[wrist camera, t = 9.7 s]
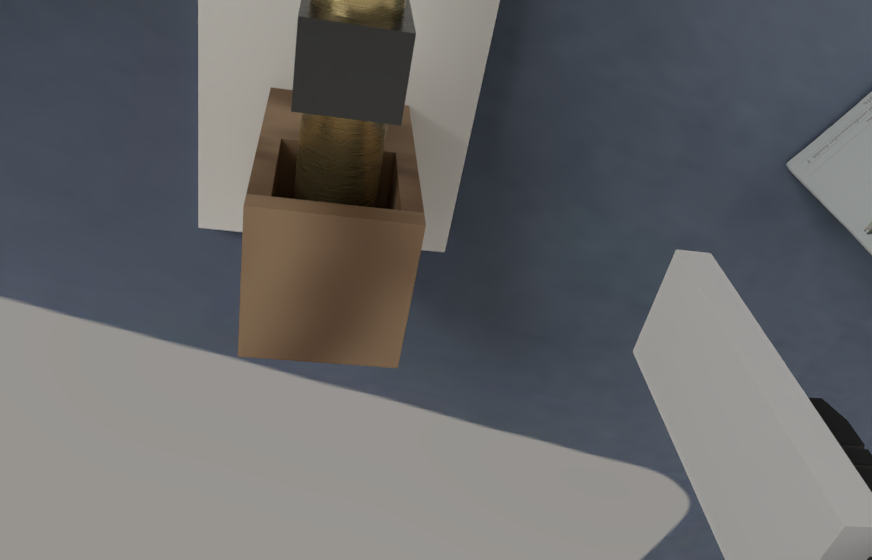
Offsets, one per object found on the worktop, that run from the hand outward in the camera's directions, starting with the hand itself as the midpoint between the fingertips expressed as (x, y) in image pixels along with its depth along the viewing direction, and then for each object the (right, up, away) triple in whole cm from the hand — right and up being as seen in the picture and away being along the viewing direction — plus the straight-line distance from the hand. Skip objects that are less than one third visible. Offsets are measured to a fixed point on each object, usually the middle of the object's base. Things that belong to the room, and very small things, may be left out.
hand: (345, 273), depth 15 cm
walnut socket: (-3, +6, +21) cm, 22 cm away
